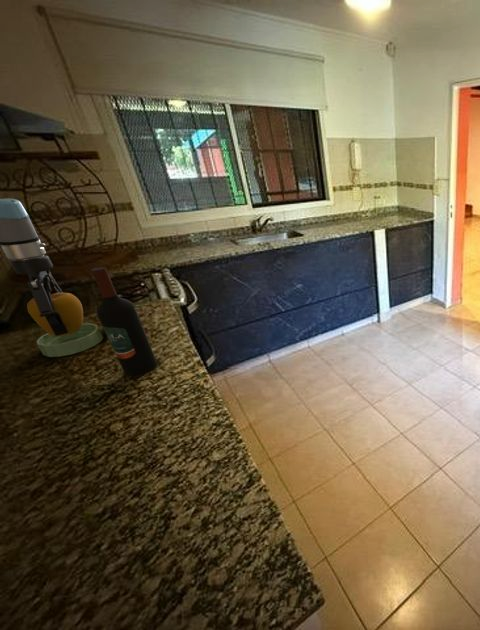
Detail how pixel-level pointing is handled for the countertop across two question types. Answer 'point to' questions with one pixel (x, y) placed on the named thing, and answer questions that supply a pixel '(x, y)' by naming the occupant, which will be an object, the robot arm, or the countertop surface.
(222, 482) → the countertop surface
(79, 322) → the apple
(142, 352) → the wine bottle
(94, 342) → the bowl
